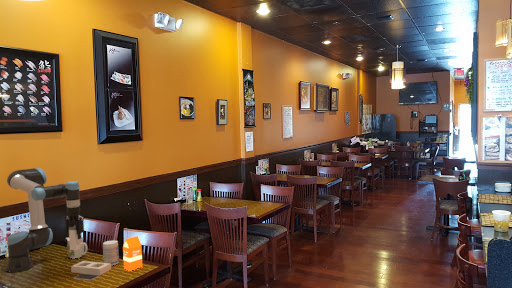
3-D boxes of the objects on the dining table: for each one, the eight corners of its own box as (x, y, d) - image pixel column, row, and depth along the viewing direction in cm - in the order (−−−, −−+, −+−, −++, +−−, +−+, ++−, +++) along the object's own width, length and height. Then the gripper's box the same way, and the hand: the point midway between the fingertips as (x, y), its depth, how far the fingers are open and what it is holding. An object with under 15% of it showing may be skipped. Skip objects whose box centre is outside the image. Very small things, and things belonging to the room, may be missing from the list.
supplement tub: (120, 264, 254) (119, 242, 253) (105, 267, 249) (104, 245, 248) (117, 260, 262) (116, 239, 262) (102, 263, 257) (101, 241, 256)
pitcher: (81, 261, 264) (80, 241, 263) (61, 259, 269) (60, 239, 269) (93, 256, 274) (92, 236, 274) (73, 254, 280) (72, 235, 279)
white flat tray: (71, 272, 242) (71, 266, 242) (83, 267, 252) (82, 261, 251) (100, 275, 235) (99, 268, 235) (111, 269, 245) (110, 263, 244)
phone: (91, 281, 227) (91, 279, 227) (73, 279, 231) (73, 277, 231) (99, 277, 234) (99, 275, 234) (82, 275, 238) (82, 273, 238)
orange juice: (123, 269, 245) (122, 238, 244) (136, 265, 251) (134, 235, 250) (130, 271, 239) (128, 240, 239) (142, 267, 246) (141, 236, 245)
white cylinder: (69, 249, 238) (68, 227, 237) (75, 247, 242) (74, 225, 242) (75, 250, 236) (74, 227, 236) (81, 248, 240) (80, 225, 240)
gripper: (57, 207, 238) (59, 244, 239) (79, 208, 232) (81, 246, 232) (67, 204, 245) (69, 241, 246) (89, 205, 239) (91, 243, 239)
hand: (75, 243), depth 239 cm, fingers closed on white cylinder, 4 cm apart
